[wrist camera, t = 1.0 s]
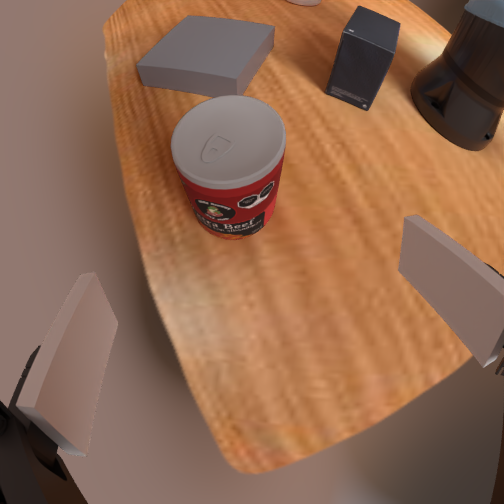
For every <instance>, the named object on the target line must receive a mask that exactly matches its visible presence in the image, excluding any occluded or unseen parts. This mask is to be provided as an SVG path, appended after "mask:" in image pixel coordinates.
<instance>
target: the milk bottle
mask: <svg viewBox="0 0 504 504" xmlns="http://www.w3.org/2000/svg"><path fill="white" fill-rule="evenodd" d="M286 1H288V2H291V3H294V4H297V5H304V6H315V5H318V4H319V3H320V2H321V0H286Z"/></svg>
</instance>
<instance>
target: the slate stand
mask: <svg viewBox="0 0 504 504" xmlns="http://www.w3.org/2000/svg"><path fill="white" fill-rule="evenodd" d="M274 32H275V26H271V25H265V24H260V23H254V22H247V21H241V20H233V19H225V18H215V17H203V16H187V17H186V18H184V19H183V20H182V21H181V22H180V23H179V24H178V25H176V26H175V27H174V28H173V29H172V30H171V31H170V32H169V33H168V34H167V35H165V36H164V37H163V38H162V39H161V40H160V41H159V42H158V43H157V44H156V45H155V46H154V47H153V48H152V49H151V50H150V51H149V52H148V53H147V54H146V55H145V56H144V57H143V58H142V59H141V60H140V61H139V62H138V63H137V65H136V66H137V69H138V72H139V75H140V77H141V80H142V83H143V86H150V87H158V88H165V89H171V90H177V91H183V92H189V93H194V94H200V95H205V96H210V97H219V96H226V95H243V93H244V91H245V90H246V88H247V87H248V85H249V83H250V82H251V80H252V79H253V77H254V76H255V74H256V72H257V71H258V69H259V68H260V66H261V65H262V63H263V62H264V60H265V59H266V57H267V56H268V54H269V53H270V51H271V50H272V48H273V46H274Z"/></svg>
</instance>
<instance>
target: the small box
mask: <svg viewBox="0 0 504 504" xmlns="http://www.w3.org/2000/svg"><path fill="white" fill-rule="evenodd" d="M399 30H400V23H399V22H397V21H394V20H392V19H390V18H388V17H386V16H383V15H381V14H379V13H376V12H374V11H372V10H369V9H367V8H364V7H362V6H358V7H357V9H356V10H355V12H354V14H353V15H352V17H351V18H350V20H349V22H348V23H347V25H346V27H345V28H344V30H343V33H342V36H341V39H340V43H339V46H338V51H337V54H336V57H335V61H334V65H333V68H332V72H331V75H330V78H329V81H328V84H327V87H326V91H325V93H326V94H328V95H331V96H334V97H336V98H338V99H341V100H343V101H346V102H348V103H350V104H353V105H355V106H357V107H359V108H361V109H364V110H366V111H368V110H369V108H370V106H371V104H372V102H373V100H374V99H375V97H376V95H377V92H378V90H379V88H380V86H381V84H382V82H383V80H384V78H385V75H386V73H387V71H388V69H389V67H390V64H391V62H392V60H393V57H394V54H395V51H396V46H397V40H398V35H399Z"/></svg>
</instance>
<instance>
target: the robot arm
mask: <svg viewBox="0 0 504 504" xmlns="http://www.w3.org/2000/svg"><path fill="white" fill-rule="evenodd" d="M464 8H465V11H464V13H463V15H462V17H461V19H460V21H459V23H458V25H457V27H456V29H455V31H454V32H453V34H452V36H451V38H450V40H449V42H448V43H447V45H446V47H445V49H444V51H443V53H442V54H441V55H440V56H439V57H438V58H436V59H435V60H434V61H433V62H431V63H430V64H429V65H427V66H426V67H425V68H423V69H422V70H421V71H420V72H419V73H418V74H417V75H416V77H415V79H414V81H413V83H412V85H411V94H412V98H413V100H414V102H415V104H416V106H417V108H418V109H419V111H420V112H421V114H422V115H423V116H424V118H425V119H426V120H427V121H428V122H429V123H430V124H431V125H432V126H433V127H434V128H435V129H436V130H437V131H438V132H439V133H440V134H441V135H443V136H444V137H445V138H447V139H448V140H449V141H451V142H453V143H454V144H456V145H458V146H460V147H462V148H464V149H467V150H471V151H479V150H482V149H484V148H485V147H486V146H487V145H488V144H489V143H490V142H491V140H492V139H493V137H494V134H495V132H496V129H497V127H498V124H499V121H500V118H501V115H502V113H503V110H504V0H470V1H469V2H468V4H466V5H465V7H464ZM398 271H399V272H400V273H401V274H402V275H403V276H404V277H405V278H406V279H407V280H408V281H409V282H410V284H411V285H412V286H413V287H414V288H415V289H416V290H417V291H418V292H419V293H420V294H421V295H422V296H423V297H424V298H425V300H426V301H427V302H428V303H429V304H430V305H431V306H432V307H433V308H434V309H435V311H436V312H437V313H438V314H439V315H440V316H441V317H442V318H443V320H444V321H445V322H446V323H447V324H448V325H449V326H450V328H451V329H452V330H453V331H454V332H455V334H456V335H457V336H458V337H459V338H460V339H461V341H462V342H463V343H464V344H465V345H466V347H467V348H468V349H469V350H470V352H471V353H472V354H473V355H474V357H475V358H476V359H477V360H478V362H479V363H480V364H481V365H482V367H485V366H486V365H488V364H489V363H491V362H493V361H494V360H496V358H497V357H498V355H499V353H500V351H501V349H502V348H504V276H502V275H501V274H499V272H498V271H496V270H495V269H494V268H493V267H491V266H490V265H488V264H486V263H484V262H482V261H481V260H480V259H479V258H477V257H476V256H475V255H473V254H472V253H471V252H469V251H468V250H467V249H465V248H464V247H463V246H461V245H460V244H459V243H457V242H456V241H455V240H453V239H452V238H450V237H449V236H448V235H446V234H445V233H443V232H442V231H441V230H439V229H438V228H436V227H435V226H433V225H432V224H430V223H429V222H427V221H426V220H425V219H423V218H422V217H420V216H418V215H413V216H407V217H404V226H403V236H402V245H401V253H400V261H399V268H398ZM117 327H118V321H117V319H116V317H115V315H114V313H113V311H112V309H111V307H110V304H109V302H108V300H107V298H106V295H105V293H104V291H103V289H102V286H101V284H100V282H99V279H98V277H97V274H96V272H90V273H85V274H80V276H79V277H78V279H77V281H76V282H75V284H74V286H73V287H72V289H71V291H70V292H69V294H68V296H67V298H66V300H65V301H64V303H63V305H62V307H61V308H60V310H59V312H58V314H57V316H56V318H55V320H54V322H53V323H52V325H51V327H50V329H49V331H48V333H47V335H46V337H45V339H44V341H43V343H42V345H41V346H38V348H37V349H36V350H35V351H34V352H33V353H32V355H31V356H30V358H29V360H28V362H27V364H26V369H24V371H23V373H22V375H21V376H22V378H20V380H19V382H18V384H17V387H16V389H15V392H14V394H13V397H12V399H11V401H10V404H9V407H8V408H7V407H6V406H5V405H4V404H3V403H2V402H1V401H0V504H88V503H87V501H86V500H85V498H84V496H83V495H82V493H81V492H80V490H79V488H78V487H77V485H76V483H75V482H74V480H73V478H72V476H71V475H70V473H69V471H68V469H67V467H66V466H65V464H64V462H63V460H62V459H61V457H60V456H59V455H58V454H57V449H58V446H59V447H60V448H61V449H63V450H64V451H65V452H66V453H68V454H70V455H77V456H86V457H87V454H88V448H89V442H90V437H91V431H92V426H93V421H94V416H95V412H96V407H97V402H98V398H99V394H100V389H101V385H102V381H103V377H104V373H105V369H106V365H107V362H108V357H109V354H110V351H111V347H112V344H113V340H114V337H115V333H116V330H117ZM502 367H504V357H503V359H502V361H501V363H500V364H499V366H498V367H497V369H496V373H495V374H496V375H497V374H498V373H499V371H500V370H501V368H502ZM501 375H503V376H504V370H503V372H502V373H501ZM490 504H504V416H503V431H502V440H501V449H500V457H499V463H498V469H497V475H496V480H495V485H494V490H493V495H492V498H491V503H490Z"/></svg>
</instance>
